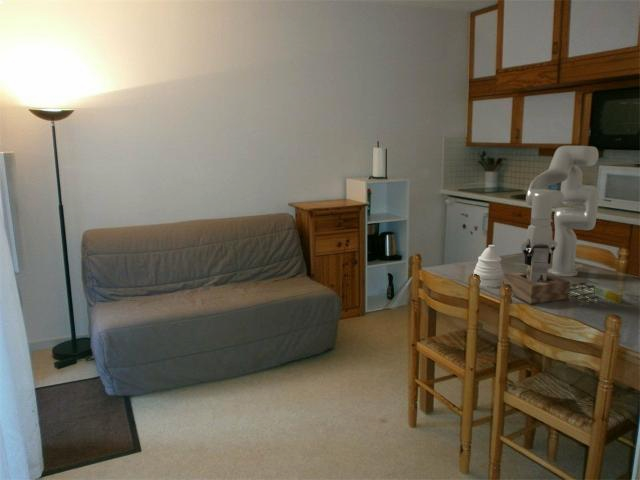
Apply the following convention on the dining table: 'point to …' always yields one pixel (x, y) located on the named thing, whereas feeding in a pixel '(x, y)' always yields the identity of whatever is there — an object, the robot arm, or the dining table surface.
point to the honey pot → (489, 268)
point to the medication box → (608, 294)
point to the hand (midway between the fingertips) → (537, 263)
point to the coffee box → (538, 264)
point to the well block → (538, 288)
